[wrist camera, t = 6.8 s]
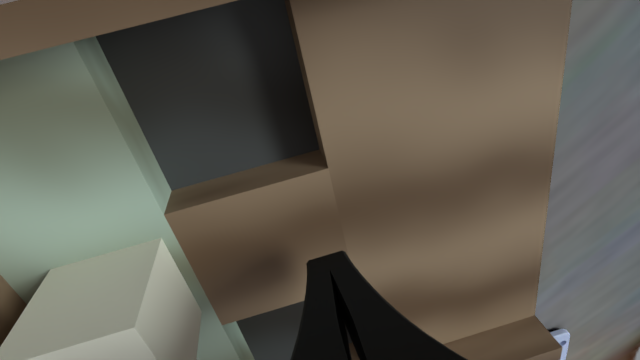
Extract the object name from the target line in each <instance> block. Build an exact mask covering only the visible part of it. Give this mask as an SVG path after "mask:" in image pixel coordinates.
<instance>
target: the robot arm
mask: <svg viewBox="0 0 640 360" xmlns="http://www.w3.org/2000/svg"><path fill="white" fill-rule="evenodd" d="M306 265H307V283H306V293H305V300H304V307H303V312H302V317H301V322H300V326H299V331H298V335H297V339H296V343H295V346H294V349H293V353H292V356H291V359H290V360H352V358H351V353H350V348H349V343H348V337H347V332H346V327H347V330H348V332H349V335H350V337H351V340H352V342H353V345H354V347H355V350H356V352H357V355H358V357H359V360H468V359H466V358H464V357H463V356H461V355H459V354H457V353H456V352H454V351H452V350H451V349H449V348H448V347H446V346H445V345H443V344H442V343H440V342H439V341H437V340H436V339H434V338H433V337H431V336H430V335H428V334H427V333H425V332H424V331H422V330H421V329H420V328H418V327H417V326H416V325H414V324H413V323H412V322H411V321H409V320H408V319H407V318H406V317H404V316H403V315H402V314H401V313H400V312H398V311H397V310H396V309H395V308H394V307H393V306H392V305H391V304H390V303H388V302H387V301H386V300H385V299H384V298H383V297H382V296H381V295H380V294H379V293H378V292H377V291H376V290H375V289H374V288H373V287H372V286H371V284H370V283H369V282H368V281H367V280H366V279H365V278H364V277H363V276H362V274H361V273H360V272H359V271H358V269H357V268H356V267H355V266H354V264H353V263H352V262H351V260H350V259H349V257H348V255H347V254H346V252H344V251H338V252H335V253H332V254H328V255H325V256H322V257H318V258H315V259H311V260H309V261H308V262H307V263H306ZM345 325H346V327H345ZM550 334H551V335H552V336H553V337H554V338H555V339H556V340H557V342H558V343H559V344H560V345H561V346H562V347H563V348H562V353H561V358H560V360H565V359H566V354H567V349H568V344H569V339H570V333H569V332H568V331H567V330H566V329H559V330H556V331H552V332H550Z"/></svg>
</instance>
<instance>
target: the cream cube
mask: <svg viewBox="0 0 640 360" xmlns="http://www.w3.org/2000/svg"><path fill="white" fill-rule="evenodd" d="M201 314H202V311H201V309H200V307H199V305H198V304H197V302H196V300H195V298H194V296H193V294H192V293H191V291H190V289H189V287H188V285H187V284H186V282H185V280H184V278H183V276H182V274H181V273H180V271H179V269H178V267H177V265H176V263H175V262H174V260H173V258H172V256H171V254H170V253H169V251H168V249H167V247H166V245H165V243H164V242H163V240H162V238H159V239H156V240H152V241H149V242H145V243H141V244H138V245H134V246H131V247H127V248H124V249H120V250H117V251H113V252H110V253H106V254H103V255H99V256H96V257H92V258H89V259H85V260H82V261H78V262H75V263H71V264H67V265H64V266H60V267H57V268H53V269H50V271H49V272H48V274H47V275H46V277H45V278H44V280H43V282H42V283H41V285H40V286H39V288H38V289H37V291H36V292H35V294H34V295H33V297H32V299H31V300H30V302H29V303H28V305H27V306H26V308H25V309H24V311H23V312H22V314H21V316H20V317H19V319H18V320H17V322H16V323H15V325H14V326H13V328H12V330H11V331H10V333H9V334H8V336H7V337H6V339H5V340H4V342H3V343H2V345H1V347H0V360H196V358H197V350H198V341H199V332H200V323H201Z"/></svg>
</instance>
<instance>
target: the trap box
mask: <svg viewBox="0 0 640 360" xmlns="http://www.w3.org/2000/svg"><path fill="white" fill-rule="evenodd" d="M571 7H572V0H18V1H14V2H10V3H6V4H2V5H0V347H1V345H2V343H3V342H4V340H5V339H6V337H7V336H8V334H9V333H10V331H11V330H12V328H13V326H14V325H15V323H16V322H17V320H18V319H19V317H20V316H21V314H22V312H23V311H24V309H25V308H26V306H27V305H28V303H29V302H30V300H31V299H32V297H33V295H34V294H35V292H36V291H37V289H38V288H39V286H40V285H41V283H42V282H43V280H44V278H45V277H46V275H47V274H48V272H49V271H50V269H53V268H57V267H60V266H64V265H67V264H71V263H75V262H78V261H82V260H85V259H89V258H92V257H96V256H99V255H103V254H106V253H110V252H113V251H117V250H120V249H124V248H127V247H131V246H134V245H138V244H141V243H145V242H149V241H152V240H156V239H159V238H162V240H163V242H164V243H165V245H166V247H167V249H168V251H169V253H170V254H171V256H172V258H173V260H174V262H175V263H176V265H177V267H178V269H179V271H180V273H181V274H182V276H183V278H184V280H185V282H186V284H187V285H188V287H189V289H190V291H191V293H192V294H193V296H194V298H195V300H196V302H197V304H198V305H199V307H200V309H201V311H202V314H201V323H200V332H199V341H198V350H197V358H196V360H290V359H291V356H292V353H293V349H294V346H295V343H296V339H297V335H298V331H299V326H300V322H301V317H302V312H303V307H304V300H305V293H306V283H307V265H306V263H307V262H308V261H309V260H311V259H315V258H318V257H322V256H325V255H328V254H332V253H335V252H338V251H344V252H346V254H347V255H348V257H349V259H350V260H351V262H352V263H353V264H354V266H355V267H356V268H357V269H358V271H359V272H360V273H361V274H362V276H363V277H364V278H365V279H366V280H367V281H368V282H369V283H370V284H371V286H372V287H373V288H374V289H375V290H376V291H377V292H378V293H379V294H380V295H381V296H382V297H383V298H384V299H385V300H386V301H387V302H388V303H390V304H391V305H392V306H393V307H394V308H395V309H396V310H397V311H398V312H400V313H401V314H402V315H403V316H404V317H406V318H407V319H408V320H409V321H411V322H412V323H413V324H414V325H416V326H417V327H418V328H420V329H421V330H422V331H424V332H425V333H427V334H428V335H430V336H431V337H433V338H434V339H436V340H437V341H439V342H440V343H442V344H443V345H445V346H446V347H448V348H449V349H451V350H452V351H454V352H456V353H457V354H459V355H461V356H463V357H464V358H466V359H468V360H560V358H561V353H562V348H563V347H562V346H561V345H560V344H559V343H558V342H557V340H556V339H555V338H554V337H553V336H552V335H551V334H550V332H549V331H548V330H547V329H546V328H545V327H544V325H543V324H542V323H541V322H540V321H539V320H538V319H537V317H536V316H535V308H536V300H537V292H538V283H539V275H540V266H541V258H542V250H543V241H544V233H545V225H546V216H547V208H548V200H549V191H550V183H551V174H552V166H553V158H554V149H555V141H556V133H557V124H558V116H559V107H560V99H561V91H562V82H563V74H564V66H565V57H566V49H567V40H568V32H569V24H570V15H571ZM345 327H346V325H345ZM346 332H347V337H348V343H349V348H350V353H351V358H352V360H359V357H358V355H357V352H356V350H355V347H354V345H353V342H352V340H351V337H350V335H349V332H348V330H347V327H346Z"/></svg>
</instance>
